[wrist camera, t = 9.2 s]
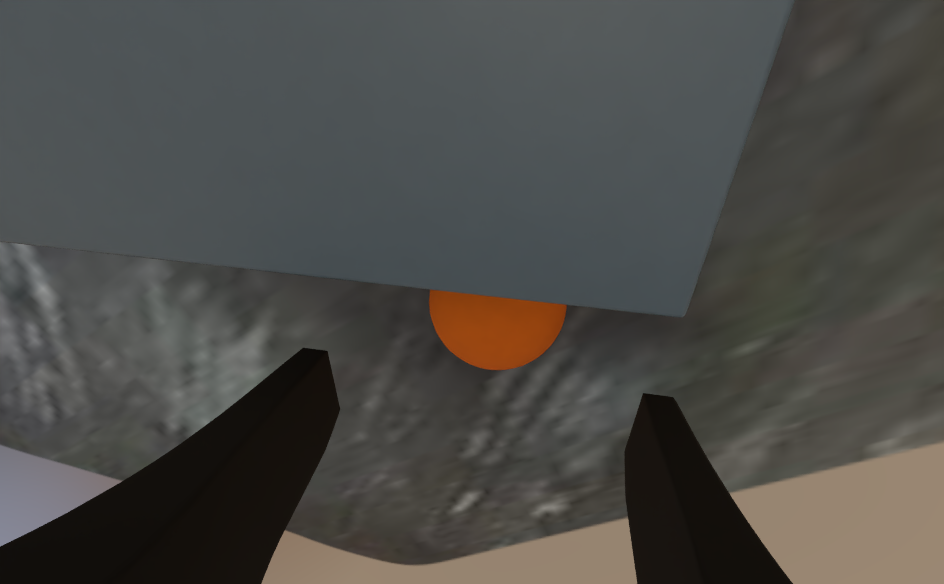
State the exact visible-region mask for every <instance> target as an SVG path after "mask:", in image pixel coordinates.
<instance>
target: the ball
mask: <svg viewBox="0 0 944 584" xmlns="http://www.w3.org/2000/svg"><path fill="white" fill-rule="evenodd" d="M566 306H567V305H563V304H554V303H545V302H536V301H527V300H519V299H510V298H501V297H492V296H483V295H474V294H465V293H456V292H447V291H438V290H430V297H429V307H430V315H431V319H432V322H433V325H434V327H435V330H436V332H437V334H438V336H439V337H440V339H441V340H442V342H443V343H444V344H445V346H446V347H447V348H448V349H449V350H450V351H451V352H452V353H453V354H455V355H456V356H457V357H459V358H460V359H462V360H463V361H465V362H467V363H469V364H471V365H473V366H476V367H479V368H484V369H490V370H506V369H512V368H516V367H520V366H523V365H525V364H527V363H529V362H531V361H533V360H534V359H536V358H538V357H539V356H540V355H542V354H543V353H544V352H545V351H546V350H547V349H548V348H549V347H550V346H551V345H552V343H553V342H554V340H555V339H556V337H557V336H558V334H559V332H560V330H561V328H562V325H563V322H564V319H565V314H566Z"/></svg>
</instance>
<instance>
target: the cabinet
mask: <svg viewBox="0 0 944 584" xmlns="http://www.w3.org/2000/svg"><path fill="white" fill-rule="evenodd" d="M794 2H795V0H0V242H9V243H18V244H27V245H36V246H45V247H54V248H63V249H72V250H81V251H90V252H99V253H107V254H116V255H125V256H134V257H143V258H152V259H161V260H170V261H179V262H188V263H197V264H206V265H215V266H224V267H233V268H242V269H250V270H259V271H268V272H277V273H286V274H295V275H304V276H313V277H322V278H331V279H340V280H349V281H358V282H367V283H376V284H385V285H393V286H402V287H411V288H420V289H429V290H438V291H447V292H456V293H465V294H474V295H483V296H492V297H501V298H510V299H519V300H527V301H536V302H545V303H554V304H563V305H572V306H581V307H590V308H599V309H608V310H617V311H626V312H635V313H644V314H653V315H662V316H670V317H684V316H685V314H686V312H687V310H688V307H689V304H690V301H691V298H692V295H693V292H694V289H695V286H696V284H697V281H698V278H699V275H700V272H701V269H702V266H703V263H704V261H705V258H706V255H707V252H708V249H709V246H710V243H711V240H712V238H713V235H714V232H715V229H716V226H717V223H718V220H719V217H720V215H721V212H722V209H723V206H724V203H725V200H726V197H727V194H728V192H729V189H730V186H731V183H732V180H733V177H734V174H735V171H736V169H737V166H738V163H739V160H740V157H741V154H742V151H743V148H744V146H745V143H746V140H747V137H748V134H749V131H750V128H751V125H752V123H753V120H754V117H755V114H756V111H757V108H758V105H759V102H760V100H761V97H762V94H763V91H764V88H765V85H766V82H767V79H768V77H769V74H770V71H771V68H772V65H773V62H774V59H775V56H776V54H777V51H778V48H779V45H780V42H781V39H782V36H783V33H784V30H785V28H786V25H787V22H788V19H789V16H790V13H791V10H792V7H793V5H794Z"/></svg>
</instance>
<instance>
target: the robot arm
mask: <svg viewBox="0 0 944 584" xmlns="http://www.w3.org/2000/svg"><path fill="white" fill-rule="evenodd" d="M339 411H340V407H339V402H338V397H337V393H336V388H335V384H334V379H333V374H332V370H331V365H330V361H329V356H328V351H323V350H316V349H308V348H302V349H301V350H300V351H299V352H297V353H296V354H295V355H294V356H292V357H291V358H290V359H289V360H287V361H286V362H285V363H284V364H282V365H281V366H280V367H279V368H278V369H276V370H275V371H274V372H273V373H272V374H270V375H269V376H268V377H267V378H265V379H264V380H263V381H262V382H261V383H259V384H258V385H257V386H256V387H255V388H253V389H252V390H251V391H250V392H248V393H247V394H246V395H245V396H243V397H242V398H241V399H240V400H238V401H237V402H236V403H234V404H233V405H232V406H231V407H229V408H228V409H227V410H226V411H224V412H223V413H222V414H221V415H219V416H218V417H217V418H215V419H214V420H212V421H211V422H210V423H208V424H207V425H206V426H204V427H203V428H202V429H200V430H199V431H198V432H196V433H195V434H193V435H192V436H191V437H189V438H188V439H187V440H185V441H184V442H183V443H181V444H180V445H178V446H177V447H175V448H174V449H172V450H171V451H169V452H168V453H166V454H165V455H163V456H162V457H160V458H159V459H157V460H156V461H154V462H153V463H151V464H150V465H148V466H146V467H145V468H143V469H142V470H140V471H139V472H137V473H135V474H134V475H132V476H131V477H129V478H127V479H126V480H124V481H122V482H121V483H119V484H117V485H115V486H114V487H112V488H110V489H109V490H107V491H105V492H103V493H102V494H100V495H98V496H96V497H94V498H93V499H91V500H89V501H87V502H86V503H84V504H82V505H80V506H78V507H77V508H75V509H73V510H71V511H70V512H68V513H66V514H64V515H62V516H60V517H58V518H56V519H55V520H53V521H51V522H49V523H47V524H45V525H43V526H41V527H39V528H37V529H35V530H33V531H31V532H29V533H27V534H25V535H23V536H21V537H19V538H17V539H15V540H13V541H11V542H9V543H7V544H5V545H3V546H1V547H0V584H261V583H262V580H263V578H264V575H265V573H266V570H267V568H268V565H269V563H270V560H271V558H272V555H273V553H274V551H275V549H276V547H277V545H278V543H279V540H280V538H281V536H282V534H283V532H284V530H285V529H286V527H287V525H288V523H289V521H290V519H291V517H292V515H293V513H294V511H295V509H296V507H297V505H298V503H299V501H300V499H301V497H302V495H303V493H304V491H305V489H306V488H307V486H308V484H309V482H310V480H311V478H312V476H313V474H314V472H315V470H316V468H317V466H318V464H319V462H320V460H321V458H322V456H323V454H324V452H325V450H326V447H327V444H328V442H329V439H330V437H331V434H332V431H333V428H334V425H335V423H336V420H337V417H338V414H339ZM625 495H626V504H627V512H628V519H629V527H630V534H631V541H632V549H633V556H634V563H635V570H636V577H637V584H793V583H792V582H791V581H790V579H789V578H788V577H787V575H786V574H785V573H784V572H783V570H782V569H781V568H780V566H779V565H778V564H777V562H776V561H775V559H774V558H773V557H772V556H771V554H770V553H769V551H768V550H767V548H766V547H765V546H764V544H763V543H762V542H761V540H760V539H759V537H758V536H757V534H756V533H755V531H754V530H753V529H752V527H751V526H750V524H749V523H748V522H747V520H746V518H745V517H744V515H743V514H742V512H741V511H740V509H739V508H738V507H737V505H736V503H735V502H734V500H733V499H732V497H731V496H730V494H729V492H728V491H727V489H726V488H725V486H724V484H723V483H722V481H721V480H720V478H719V476H718V475H717V473H716V472H715V470H714V468H713V467H712V465H711V463H710V462H709V460H708V458H707V457H706V455H705V453H704V451H703V450H702V448H701V446H700V444H699V443H698V441H697V439H696V437H695V436H694V434H693V432H692V430H691V428H690V426H689V425H688V423H687V421H686V419H685V417H684V415H683V413H682V411H681V410H680V408H679V406H678V404H677V402H676V401H675V399H674V398H673V397H668V396H660V395H653V394H645V393H643V396H642V399H641V402H640V405H639V408H638V411H637V414H636V417H635V421H634V424H633V427H632V430H631V433H630V436H629V439H628V442H627V446H626V449H625Z"/></svg>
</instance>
